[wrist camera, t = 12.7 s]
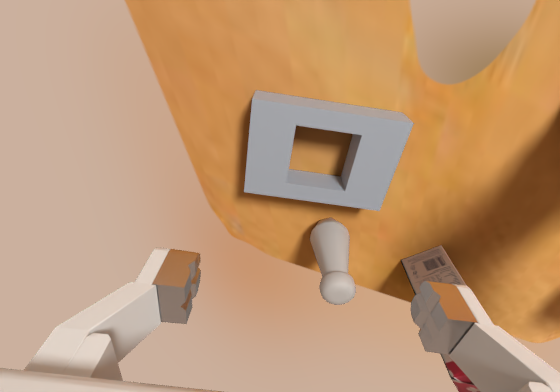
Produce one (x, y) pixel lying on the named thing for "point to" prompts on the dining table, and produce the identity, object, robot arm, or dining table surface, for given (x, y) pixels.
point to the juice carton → (442, 270)
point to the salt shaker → (333, 260)
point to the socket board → (329, 116)
